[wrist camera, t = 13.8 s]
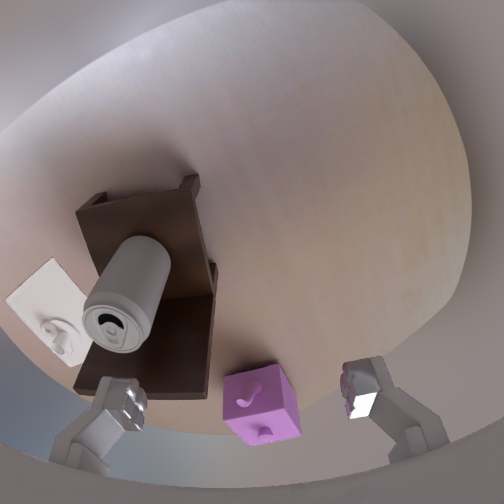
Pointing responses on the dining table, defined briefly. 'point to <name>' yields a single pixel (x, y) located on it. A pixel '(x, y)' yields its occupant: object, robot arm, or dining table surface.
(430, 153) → the dining table surface
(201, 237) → the wooden doll chair
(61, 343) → the teacup and saucer
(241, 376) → the teapot
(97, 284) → the beverage can
